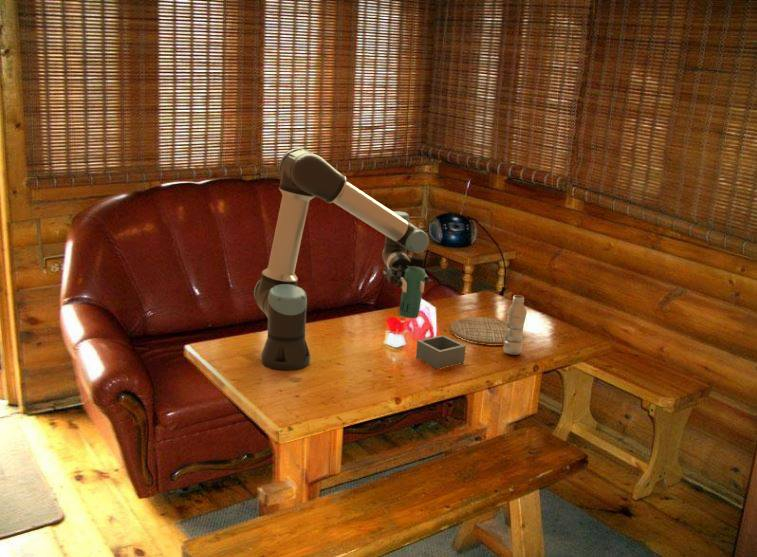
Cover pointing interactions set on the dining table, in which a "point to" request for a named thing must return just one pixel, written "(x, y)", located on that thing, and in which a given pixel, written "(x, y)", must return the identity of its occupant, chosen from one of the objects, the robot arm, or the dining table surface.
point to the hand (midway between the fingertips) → (414, 287)
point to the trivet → (480, 330)
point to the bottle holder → (440, 351)
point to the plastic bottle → (515, 326)
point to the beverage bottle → (412, 289)
